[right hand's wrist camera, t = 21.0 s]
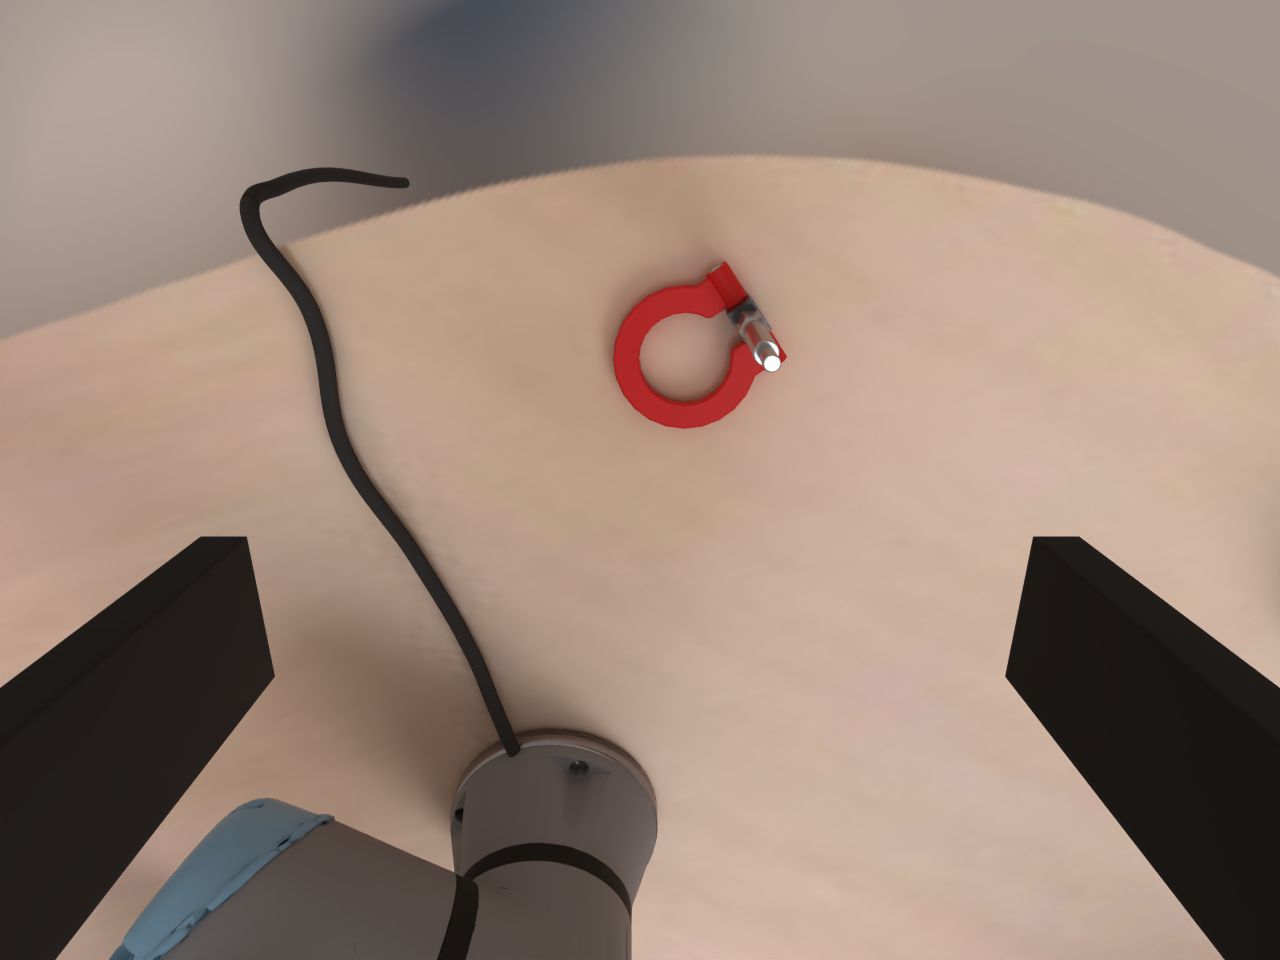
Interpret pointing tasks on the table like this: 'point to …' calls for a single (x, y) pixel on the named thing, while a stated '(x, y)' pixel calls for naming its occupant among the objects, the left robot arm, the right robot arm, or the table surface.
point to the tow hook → (707, 302)
